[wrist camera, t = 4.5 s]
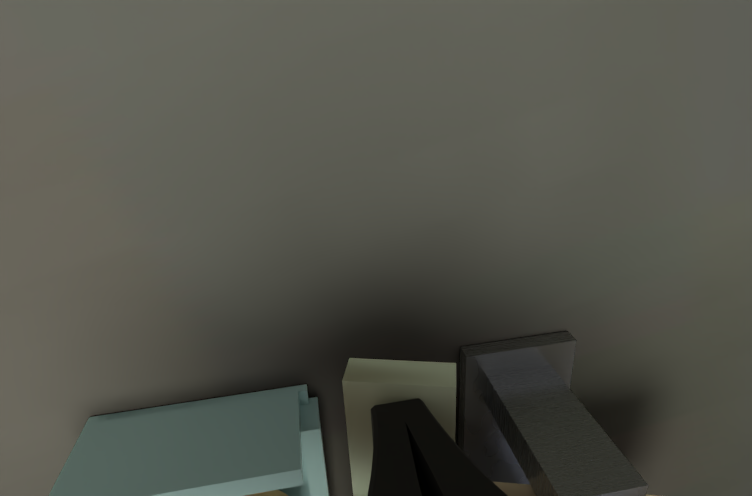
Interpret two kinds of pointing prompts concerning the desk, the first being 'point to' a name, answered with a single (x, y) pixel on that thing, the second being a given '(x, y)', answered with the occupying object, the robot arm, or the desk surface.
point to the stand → (536, 421)
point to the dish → (202, 449)
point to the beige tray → (393, 384)
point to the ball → (269, 493)
